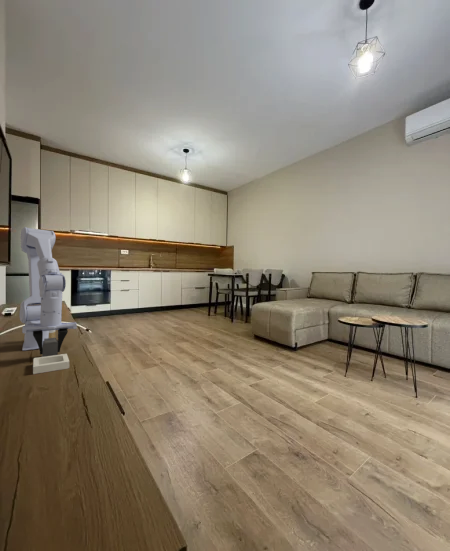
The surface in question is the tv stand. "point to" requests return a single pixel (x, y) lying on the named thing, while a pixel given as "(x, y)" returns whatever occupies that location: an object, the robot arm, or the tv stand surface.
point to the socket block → (50, 363)
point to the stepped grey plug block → (50, 347)
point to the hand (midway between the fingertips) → (49, 352)
